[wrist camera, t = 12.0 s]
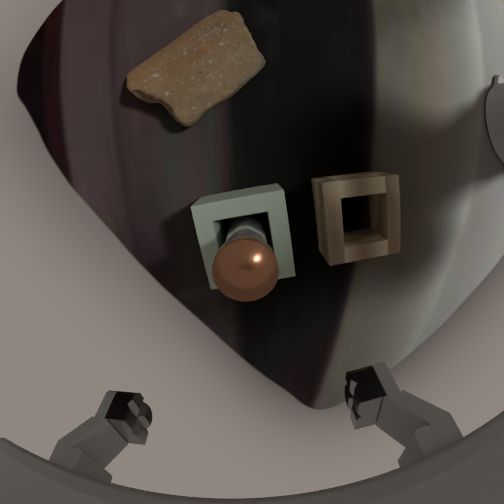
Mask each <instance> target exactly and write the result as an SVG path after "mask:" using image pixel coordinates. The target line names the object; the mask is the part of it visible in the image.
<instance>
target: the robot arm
mask: <svg viewBox="0 0 504 504" xmlns="http://www.w3.org/2000/svg"><path fill="white" fill-rule="evenodd" d="M486 121H487V127H488V132H489V136H490V139H491V142H492V145H493V147H494V149H495V151H496V153H497V155H498V157H499V158H500V159H501V161H502V162H503V164H504V77H502V76H501V75H496V76H495V79H494V85H493V87H492V88H491V89H490V91H489V93H488V95H487V99H486ZM345 379H346V382H347V384H346V385H345V390H344V393H345V400H346V404H347V407H348V408H349V409H350V410H351V416H350V417H351V420H352V423H353V426H354V428H355V429H359V428H362V427H366V426H370V425H373V424H376V426H378V427H379V428H380V429H381V430H383V431H384V432H386V433H387V434H388V435H389V436H391V437H392V438H393V439H395V440H396V441H398V442H399V443H400V444H402V445H403V446H404V447H406V448H405V450H404V452H403V454H402V455H401V457H400V458H399V460H398V463H399V466H400V468H398V469H395V470H392V471H390V472H387V473H384V474H381V475H378V476H375V477H372V478H368V479H365V480H362V481H358V482H354V483H351V484H347V485H343V486H338V487H334V488H330V489H325V490H319V491H314V492H308V493H302V494H295V495H287V496H277V497H265V498H246V499H217V498H215V499H214V498H198V497H197V498H196V497H186V496H176V495H169V494H162V493H155V492H150V491H144V490H139V489H134V488H130V487H125V486H121V485H117V484H114V483H111V480H112V476H111V474H110V473H108V472H107V471H106V470H105V469H104V468H105V467H106V466H107V465H108V464H109V463H110V462H111V461H112V460H113V459H114V458H115V457H116V456H117V455H118V454H119V453H120V452H121V451H122V450H123V449H124V448H125V447H126V445H128V443H133V444H143V445H145V442H146V439H147V436H148V431H147V429H146V428H148V427H149V426H150V425H151V422H152V412H151V409H150V407H149V406H148V405H147V404H146V403H144V402H143V399H144V398H143V397H142V395H141V394H140V393H132V392H120V391H108V392H107V393H106V395H105V397H104V399H103V401H102V403H101V405H100V407H99V409H98V411H97V413H96V415H95V417H91V418H89V419H88V420H87V421H85V422H84V423H83V424H81V425H80V426H78V427H77V428H76V429H74V430H73V431H71V432H70V433H68V434H67V435H66V436H64V437H63V438H61V439H60V440H58V442H57V444H56V446H55V448H54V450H53V453H52V455H51V457H50V459H49V461H48V460H46V459H44V458H42V457H39V456H37V455H35V454H33V453H31V452H29V451H27V450H25V449H23V448H22V447H20V446H17V445H16V444H14V443H13V442H11V441H9V440H7V439H5V438H0V504H504V411H503V412H501V413H500V414H499V415H497V416H496V417H494V418H493V419H492V420H490V421H489V422H487V423H486V424H484V425H483V426H481V427H479V428H478V429H476V430H475V431H473V432H472V433H470V434H468V435H467V436H465V437H463V436H462V434H461V432H460V430H459V428H458V426H457V425H456V423H455V421H454V419H453V418H452V416H451V414H450V413H449V412H447V411H444V410H442V409H440V408H438V407H436V406H434V405H432V404H430V403H428V402H426V401H424V400H422V399H420V398H418V397H416V396H414V395H412V394H410V393H408V392H406V391H405V390H403V391H400V390H399V388H398V386H397V384H396V382H395V380H394V378H393V376H392V375H391V373H390V371H389V369H388V367H387V365H386V364H385V363H384V362H382V363H379V364H375V365H372V366H368V367H364V368H361V369H357V370H353V371H349V372H346V376H345Z"/></svg>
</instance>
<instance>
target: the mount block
mask: <svg viewBox="0 0 504 504" xmlns="http://www.w3.org/2000/svg"><path fill="white" fill-rule="evenodd" d="M311 182H312V189H313V197H314V205H315V214H316V223H317V233H318V243H319V251H320V252H321V254H322V255H323V257H324V258H325V260H326V261H327V262H328V264H329V265H330V266H332V265H337V264H342V263H348V262H353V261H358V260H364V259H369V258H374V257H379V256H384V255H389V254H394V253H399V252H400V246H401V213H400V188H399V175H396V174H391V173H386V172H381V171H375V172H364V173H354V174H345V175H336V176H327V177H319V178H311ZM363 195H369V208H370V228H368V229H362V230H355V231H349V232H343V220H342V208H341V198H347V197H355V196H363Z"/></svg>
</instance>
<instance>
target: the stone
mask: <svg viewBox="0 0 504 504" xmlns="http://www.w3.org/2000/svg"><path fill="white" fill-rule="evenodd" d="M264 65H265V60H264V58H263V56H262V54H261V53H260V52H259V51H258V49H257V47H256V45H255V42H254V41H253V39H252V37H251V33H250V32H249V31H248V29H247V27H246V26H245V24H244V20H243V18H242V17H241V15H240V14H239V13H237V12H228V11H226V10H219V11H217V12H215V13H213V14H211V15H210V16H208V17H206V18H205V19H203V20H201V21H200V22H198V23H197V24H196V25H194V26H193V27H191V28H190V29H189V30H187V31H186V32H185V33H183V34H182V35H181V36H179V37H178V38H177V39H176V40H174V41H173V42H172V43H170V44H169V45H167V46H166V47H164V48H162V49H161V50H160V51H158V52H157V53H155V54H154V55H153V56H151V57H150V58H149V59H147V60H146V61H144V62H143V63H141V64H140V65H139V66H137V67H136V68H134V69H133V70H132V71H131V72H129V73H128V74H127V77H126V78H127V88H128V90H129V91H130V92H132V93H133V94H134V95H135V96H136V97H137V98H139V99H141V100H142V101H145V102H147V103H161V104H162V105H163V106H164V107H165V108H166V109H167V111H168V112H169V114H170V115H171V116H173V118H174V119H175V121H177V122H178V123H179V124H181V125H183V126H185V127H186V126H187V127H188V126H191V125H193V124H194V123H195V122H196V121H198V120H199V119H200V118H201V116H202V115H203V114H204V113H206V112H207V111H208V110H210V109H211V108H213V107H214V106H216V105H217V104H219V103H221V102H222V101H224V100H226V99H228V98H229V97H231V96H232V95H233V94H234V93H236V92H237V91H238V90H239V89H240V88H241V87H243V86H244V85H245V84H246V83H247V82H248V81H249V80H250V79H251V78H253V77H254V76H255V75H256V74H257V73H258V72H259V71H260V70H261V69H262V68H263V67H264Z"/></svg>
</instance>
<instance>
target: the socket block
mask: <svg viewBox="0 0 504 504" xmlns="http://www.w3.org/2000/svg"><path fill="white" fill-rule="evenodd" d="M191 211H192V215H193V220H194V224H195V228H196V232H197V237H198V241H199V245H200V249H201V253H202V257H203V261H204V265H205V269H206V273H207V276H208V280H209V284H210V288H211V289H218V288H217V286H216V285H215V283H214V280H213V276H212V265H213V261H214V258H215V256H216V253H217V252H218V250H219V249H220V247H221V246H222V245H223V244H225V242H226V240H225V235H224V230H223V225H222V221H221V219H227V218H232V217H238V216H244V215H249V214H255V213H261V212H267V218H268V225H269V231H270V237H271V243H272V244H270V245H269V247H270V248H271V249H272V250H273V252H274V254H275V256H276V258H277V262H278V267H279V276H278V279H281V278H287V277H293V276H295V268H294V260H293V252H292V244H291V237H290V229H289V222H288V215H287V208H286V201H285V195H284V190H283V189H282V188H281V187H280V186H279V184H278V183H277V184H270V185H264V186H258V187H252V188H246V189H241V190H235V191H230V192H224V193H219V194H214V195H209V196H204V197H201V198H200V199H198V200H197V201H196V202H195V203H194V204H193V205H192V206H191Z"/></svg>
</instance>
